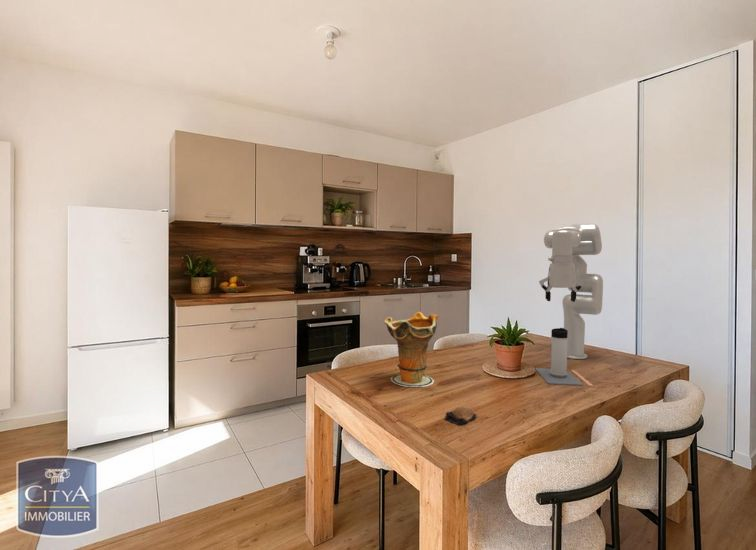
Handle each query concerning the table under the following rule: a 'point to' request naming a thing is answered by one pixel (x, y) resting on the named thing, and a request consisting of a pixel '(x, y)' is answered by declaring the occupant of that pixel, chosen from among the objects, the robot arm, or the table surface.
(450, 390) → the table surface
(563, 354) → the travel mug
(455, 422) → the brown black rock
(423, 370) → the decorative vase
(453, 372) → the table surface
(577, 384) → the mat
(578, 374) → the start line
